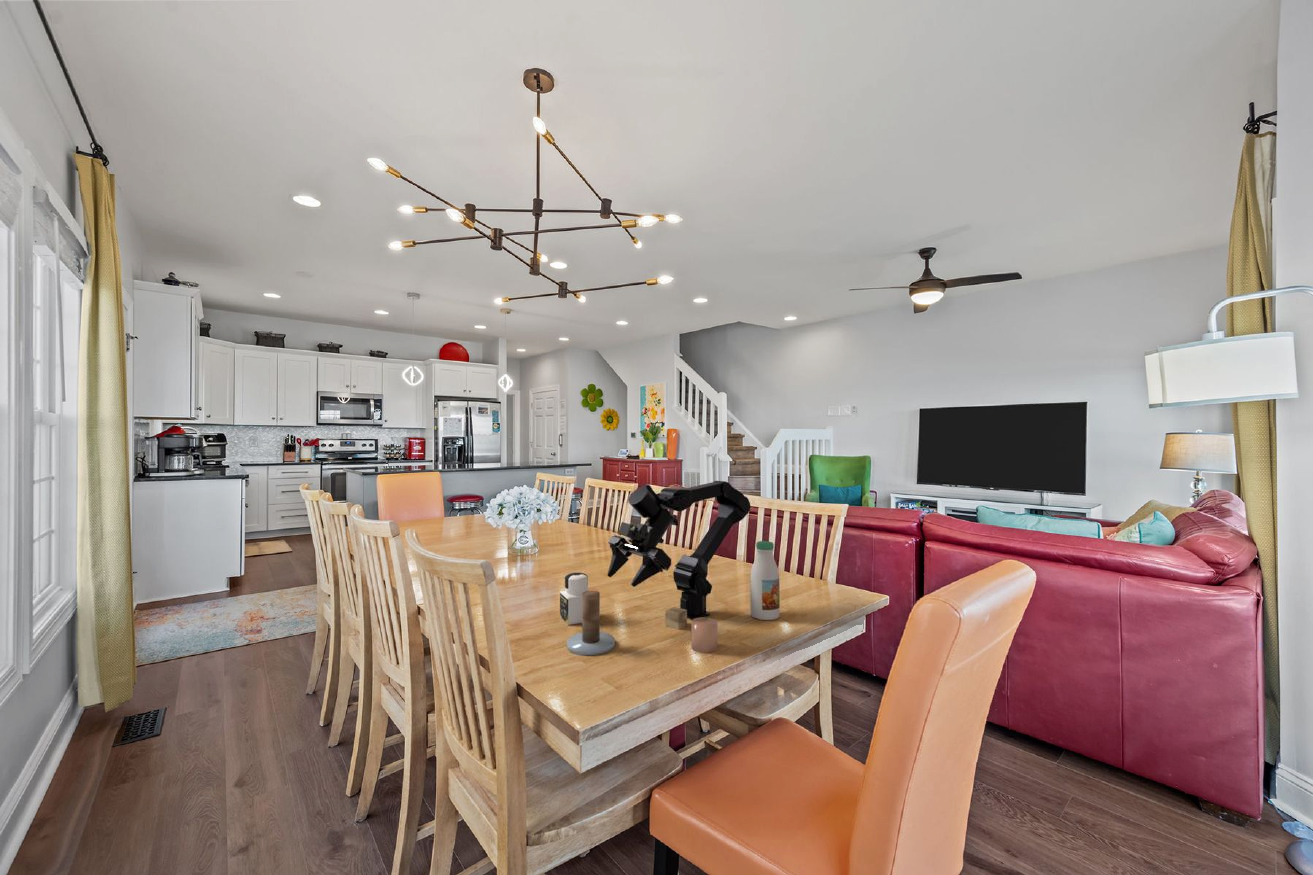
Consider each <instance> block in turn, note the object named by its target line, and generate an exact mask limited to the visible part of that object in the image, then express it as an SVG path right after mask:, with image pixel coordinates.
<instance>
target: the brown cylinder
mask: <svg viewBox="0 0 1313 875" xmlns="http://www.w3.org/2000/svg"><path fill="white" fill-rule="evenodd" d="M600 593H601V592H600V591H597V590H588V591H585V592H583V593H582V623H581V624H582V625H581V626H582V628H581V629H582V631H581V633H582V641H583V642H584V643H587V644H593V643H597V642H599V641H600V632H601V630H600V629H601V625H600V623H601V620H600V618H601V614H600V612H601V611H600V607H601V606H600V605H601V604H600V603H601V602H600Z"/></svg>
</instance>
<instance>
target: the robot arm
mask: <svg viewBox="0 0 1313 875" xmlns="http://www.w3.org/2000/svg"><path fill="white" fill-rule="evenodd" d="M713 498H715V502H716V503H717V504H718V506H717V509H718V510H717V513H718V514H717V516H716V519H715V520H714V521H713V523H712V525H711V526H710V527H709V529H708V531H706V534H705V535H704V537H703V538H702V539H701V541H700V543H699V544H698V546H697V547H696V549H695V550H694V552H693V553H692V554H691V555H686V554H683V555H681V557H680V558H679V561H678V562H677V563H676V564H674V567H675V568H674V570H673V572H672V574H673V581H674V583H675V585H676V589H677V591H681V594H680V595H681V597H680V601H679V602H680V603H679V605H680V606H679V607H680V608H681V609H685V610H687V619H690V620H693V619H695V618H701V617H707V616H710V615H711V612H708V611H707V596H708V595H709V594H710V595H711V593H712V589H713V585H712V584H711V583H710V581H709V580H708V579H707V578H708V577H707V576H708V575H709V574H708V572H709V570H708V567H709V563H710V562H711V560H712V558H713V557H714V555H715V554H716V552H717V551H718V549H719V547H720V546H721V544H722V543H723V541H724V540H725V539H726V536H727V535H728V533H729V532H730V530H731V529H732V528H733V526H734V525H736V524H737V523H739V522H741V521H743V520H744V518H745V517H746V516H747V515H748V514H749V512H750V510H751V506H752V505H751V502H750V499H749V498H748V497H747V496H746V495H744V494H743V493H742V492H741V491H739V489H736V488H735V487H733V486H732V484H730V483H729V482H728V481H723V480H714V481H711V482H708V483H704V484H700V485H695V486H690V487H685V488H683V487H682V488H681V487H664V488H662V489H661V490H660V492H657V493H656V492H655V491H654V489H653V488H652V486H651V485H650V484H647V483H643V484H642V486H641V487H639V488H637V489H635V490H634V491H633V492H630V494H629V496H628V498H627V501H628V504H629V505H630V506H631V507H632V509H634V510H635V511H636V512H637V514H638V515H639V516H640V517H641V518H643V519H646V520H645V522H644V523H640V522H639V523H638V524H637V525H634V524H630V523H628V522H627V523H626V522H624V521H622V522H621V523H620V526H619V529H618V533H617V535H611V537H610V539H609V540H608V542H607V544H608V545H609V548H610V549H611V552H612V555H611V559H610V563H609V568H608V570H607V574H606V575H607V577H609V578H613V576H614V575H615V574H617V572H618V571H620V569H621V568H622V567H623V566H624V565H625V564H627V562H628V561H629V560H630V559H629V557H631V556H632V554H633V555H637V556H639V557H642V562H641V565H640V567H639V569H638V571H637V572H636V574H635V576H634V578H633V579H632V582H631V586H632V587H633V588H635V587H637V586H638V585H640V584H642V583H644V582H645V581H646V580H647V579H650V578H652V577H653V576H655V575H657V574H659V573H663V572H664V571H666V572H668V571H669V569H670V567H671V566H672V558H671V557H670V556H669V555H668V554H667V553H666V551H664V549H663V548H659V547H657V546H658V544H663V543H664V541H665V540H664V538H663V537H664V535H665V533H666V532H667V530H668V529H669V527H670V526H671V525H672V526H676V527H677V526H679V521H678V515H677V514H672V513H671V511H674V512H675V511H676V512H684V511H686V510H687V509H689V508H691V507H692V506H693V504H695V503H699V502H702V501H706V500H710V499H713ZM622 536H623V537H622ZM625 537H626V538H627V539H626V538H625Z"/></svg>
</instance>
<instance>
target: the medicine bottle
mask: <svg viewBox="0 0 1313 875" xmlns="http://www.w3.org/2000/svg"><path fill="white" fill-rule="evenodd" d="M588 584H589V578H588V574H586V573H584V572H570V573H568V574H566V575H565V576H564V590H560V591H559V618H561V619H562V621H563V622H564V623H565V624H566V625H568V626H571V625H577V624H582V593H583V592H585V591H589V585H588Z"/></svg>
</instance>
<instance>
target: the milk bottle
mask: <svg viewBox="0 0 1313 875" xmlns="http://www.w3.org/2000/svg"><path fill="white" fill-rule="evenodd" d="M755 544H756V545H755V546H756V549H755V550H756V555H755V556H756V557H755V559H754V562H753V564H752V566H751V570H750V589H749V590H750V594H749V596H750V604H749V605H750V615H752V616H751V617H753V618H754V619H756V618H757V620H761V621H775V620H777V619H779V618H780V613H781V612H780V609H781V607H780V602H781V601H780V596H781V595H780V572H779V568H778V565H777V563H776V560H775V558H774V553H773V552H774V548H775V546H774V542H772V541H768V540H767V541H766V540H760V541H757V542H756V543H755Z"/></svg>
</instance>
